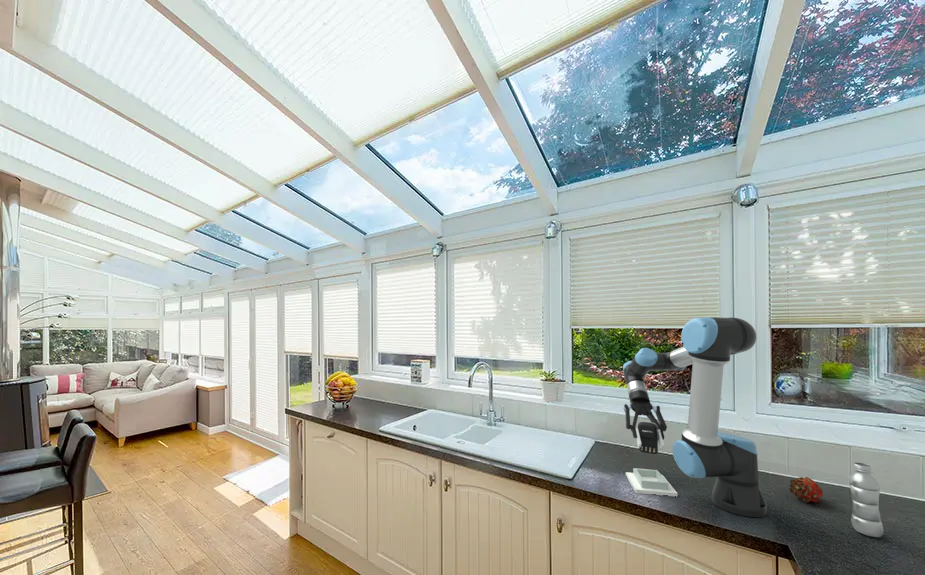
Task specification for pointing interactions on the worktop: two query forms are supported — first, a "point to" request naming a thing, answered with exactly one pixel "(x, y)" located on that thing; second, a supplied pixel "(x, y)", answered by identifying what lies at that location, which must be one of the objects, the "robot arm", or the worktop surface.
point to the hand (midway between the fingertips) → (651, 446)
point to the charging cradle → (650, 482)
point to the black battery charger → (648, 437)
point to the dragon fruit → (806, 489)
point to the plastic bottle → (865, 501)
